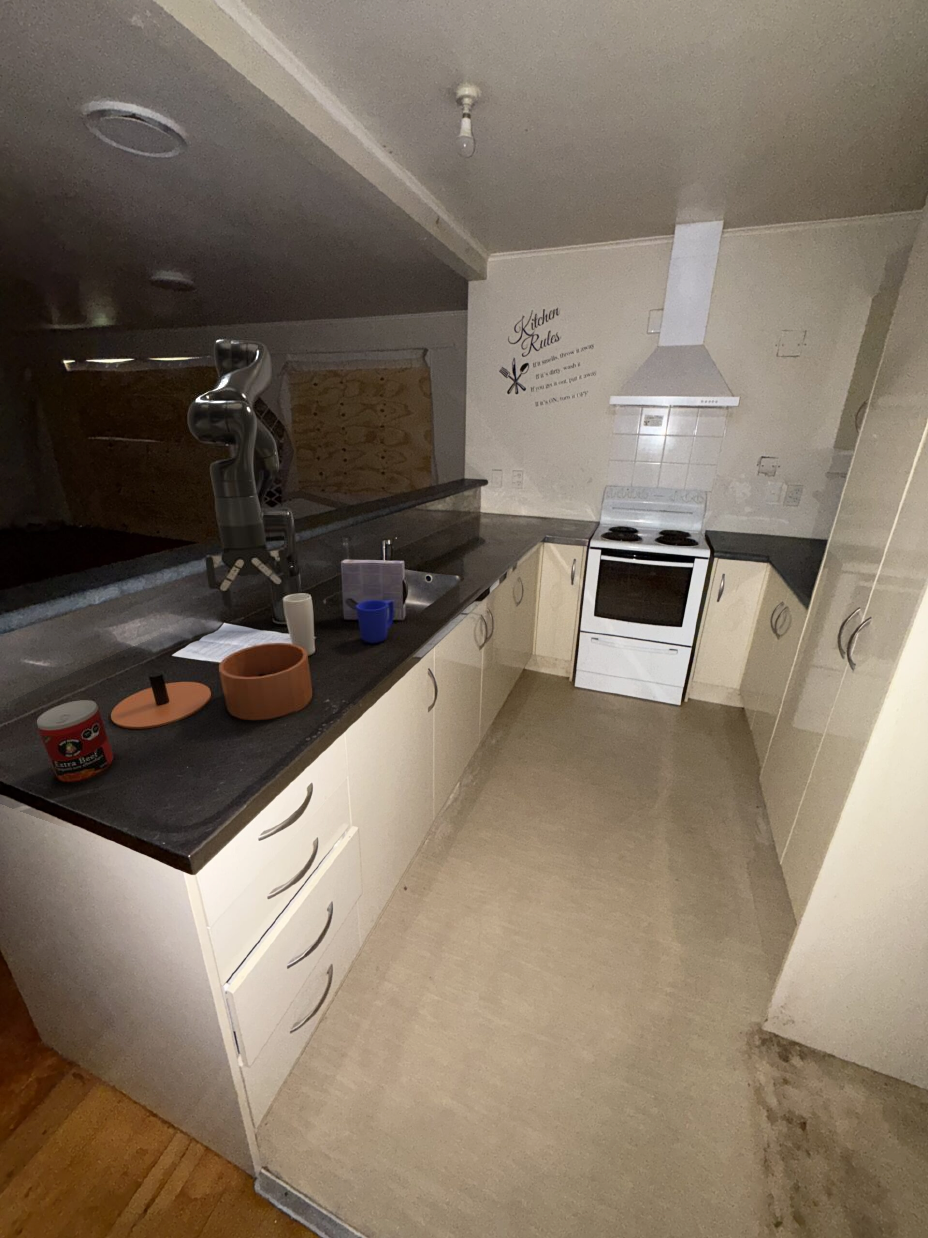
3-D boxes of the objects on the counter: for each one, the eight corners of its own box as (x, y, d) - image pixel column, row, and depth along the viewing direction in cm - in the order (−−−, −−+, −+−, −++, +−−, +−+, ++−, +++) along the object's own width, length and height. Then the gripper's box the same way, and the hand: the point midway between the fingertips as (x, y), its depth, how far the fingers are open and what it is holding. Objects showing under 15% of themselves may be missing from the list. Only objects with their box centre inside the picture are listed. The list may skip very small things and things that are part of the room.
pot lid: (119, 697, 103) (110, 665, 100) (211, 679, 110) (205, 649, 107) (104, 741, 88) (92, 705, 85) (211, 717, 95) (204, 683, 93)
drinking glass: (322, 648, 126) (315, 593, 121) (312, 659, 120) (304, 602, 114) (297, 647, 127) (289, 592, 121) (286, 658, 120) (277, 601, 115)
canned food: (52, 791, 76) (29, 731, 72) (63, 762, 82) (43, 706, 78) (111, 776, 79) (92, 718, 75) (117, 749, 86) (100, 695, 82)
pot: (226, 691, 105) (218, 651, 102) (305, 675, 112) (300, 637, 108) (229, 730, 91) (219, 686, 88) (318, 709, 98) (313, 667, 94)
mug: (405, 633, 135) (403, 599, 132) (375, 648, 126) (372, 612, 122) (382, 627, 139) (380, 594, 136) (352, 641, 130) (349, 606, 126)
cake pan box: (409, 615, 149) (407, 558, 142) (407, 621, 144) (404, 563, 138) (347, 614, 149) (342, 558, 143) (343, 620, 144) (337, 563, 138)
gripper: (279, 514, 94) (290, 593, 100) (196, 520, 88) (213, 604, 94) (284, 520, 88) (295, 604, 94) (195, 527, 82) (214, 616, 88)
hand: (254, 604), depth 94 cm, fingers open, 8 cm apart
